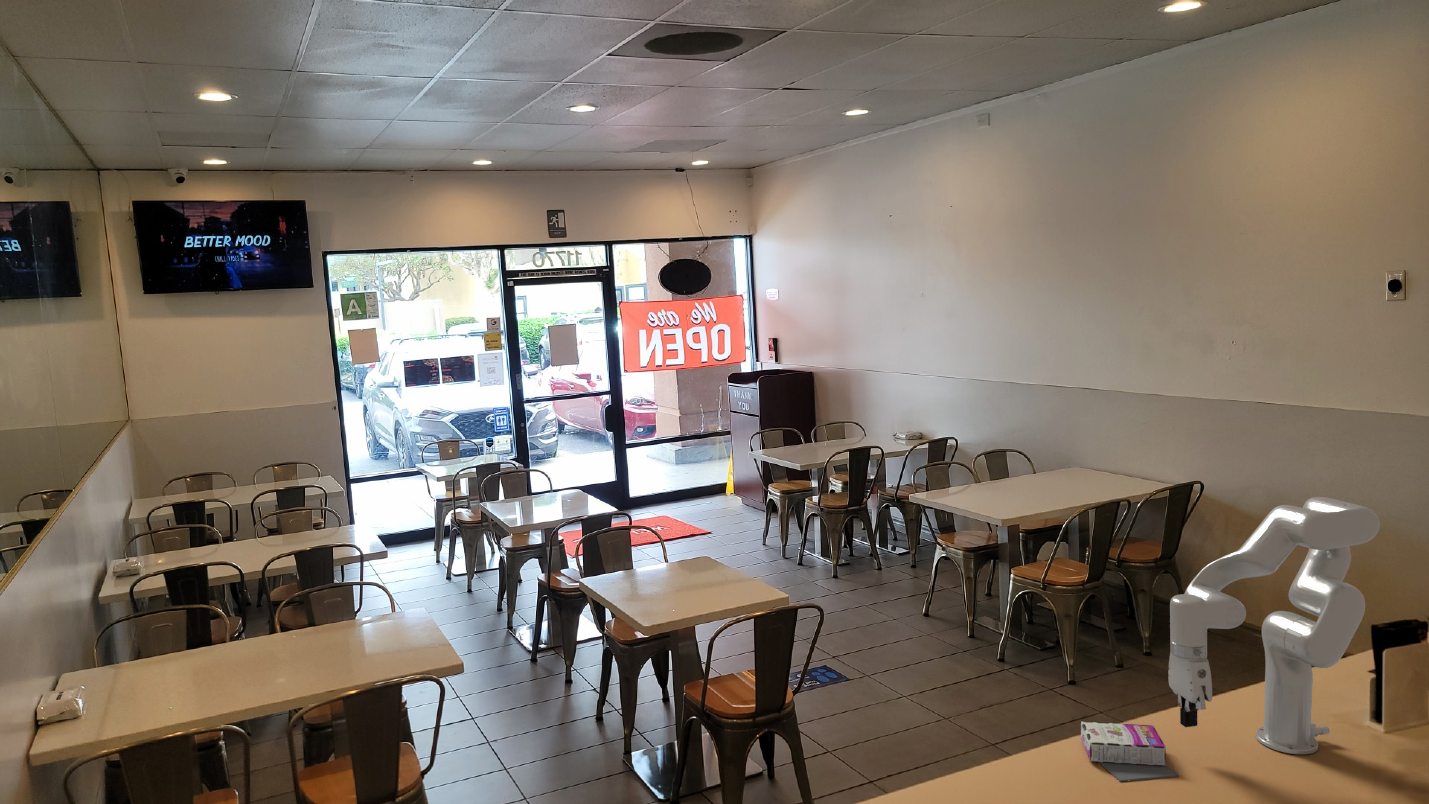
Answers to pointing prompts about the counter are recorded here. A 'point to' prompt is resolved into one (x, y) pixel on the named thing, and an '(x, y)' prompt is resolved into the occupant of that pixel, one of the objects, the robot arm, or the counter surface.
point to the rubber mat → (1138, 771)
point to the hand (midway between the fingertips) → (1188, 725)
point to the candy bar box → (1123, 743)
